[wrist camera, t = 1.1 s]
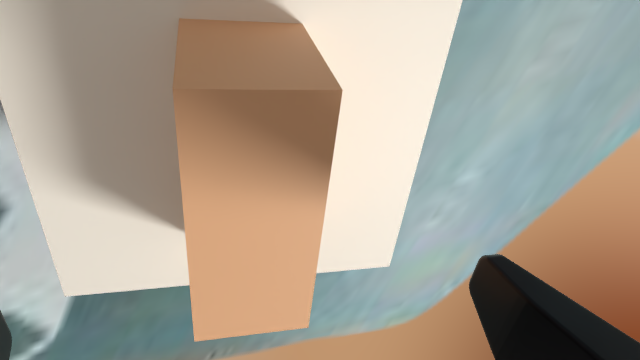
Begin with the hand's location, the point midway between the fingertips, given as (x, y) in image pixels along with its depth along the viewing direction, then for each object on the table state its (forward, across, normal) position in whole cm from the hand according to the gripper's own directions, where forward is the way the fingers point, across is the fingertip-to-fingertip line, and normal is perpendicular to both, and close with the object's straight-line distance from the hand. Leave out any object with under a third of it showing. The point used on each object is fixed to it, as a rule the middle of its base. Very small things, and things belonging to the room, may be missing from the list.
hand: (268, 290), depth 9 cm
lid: (+8, 0, 0) cm, 8 cm away
